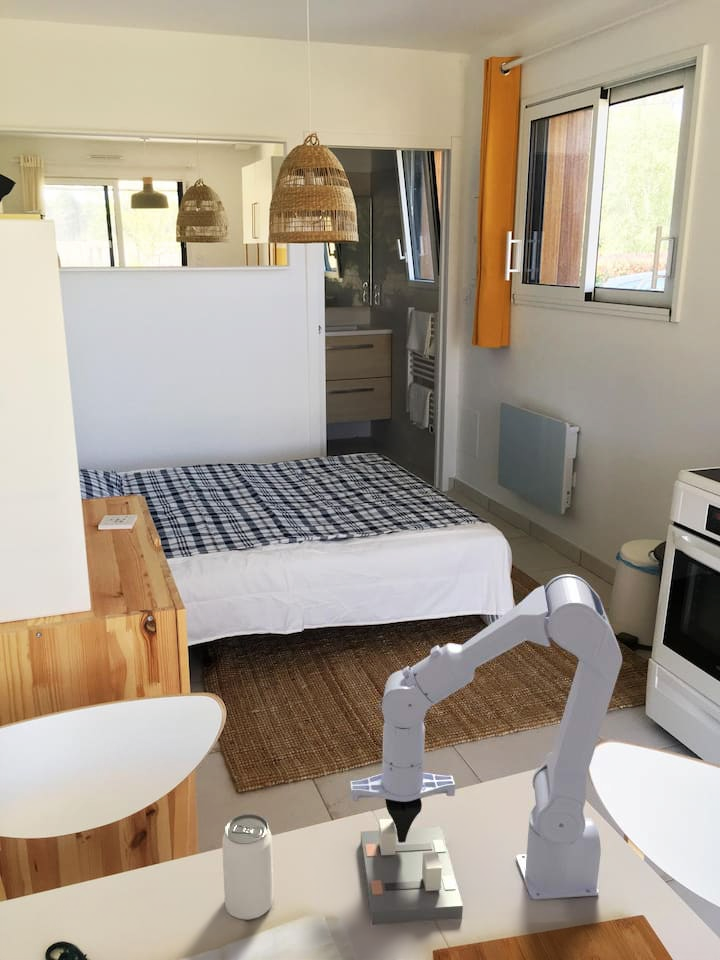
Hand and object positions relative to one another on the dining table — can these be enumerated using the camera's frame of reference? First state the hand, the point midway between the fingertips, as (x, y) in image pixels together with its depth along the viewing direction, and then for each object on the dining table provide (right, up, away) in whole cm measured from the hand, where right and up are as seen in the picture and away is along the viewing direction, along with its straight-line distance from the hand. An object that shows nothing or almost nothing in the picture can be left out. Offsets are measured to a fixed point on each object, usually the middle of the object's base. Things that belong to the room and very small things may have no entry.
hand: (400, 837), depth 117 cm
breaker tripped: (-2, -2, 0) cm, 2 cm away
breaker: (+4, -3, -6) cm, 8 cm away
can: (-21, -6, -7) cm, 23 cm away
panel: (+1, -5, -2) cm, 5 cm away
